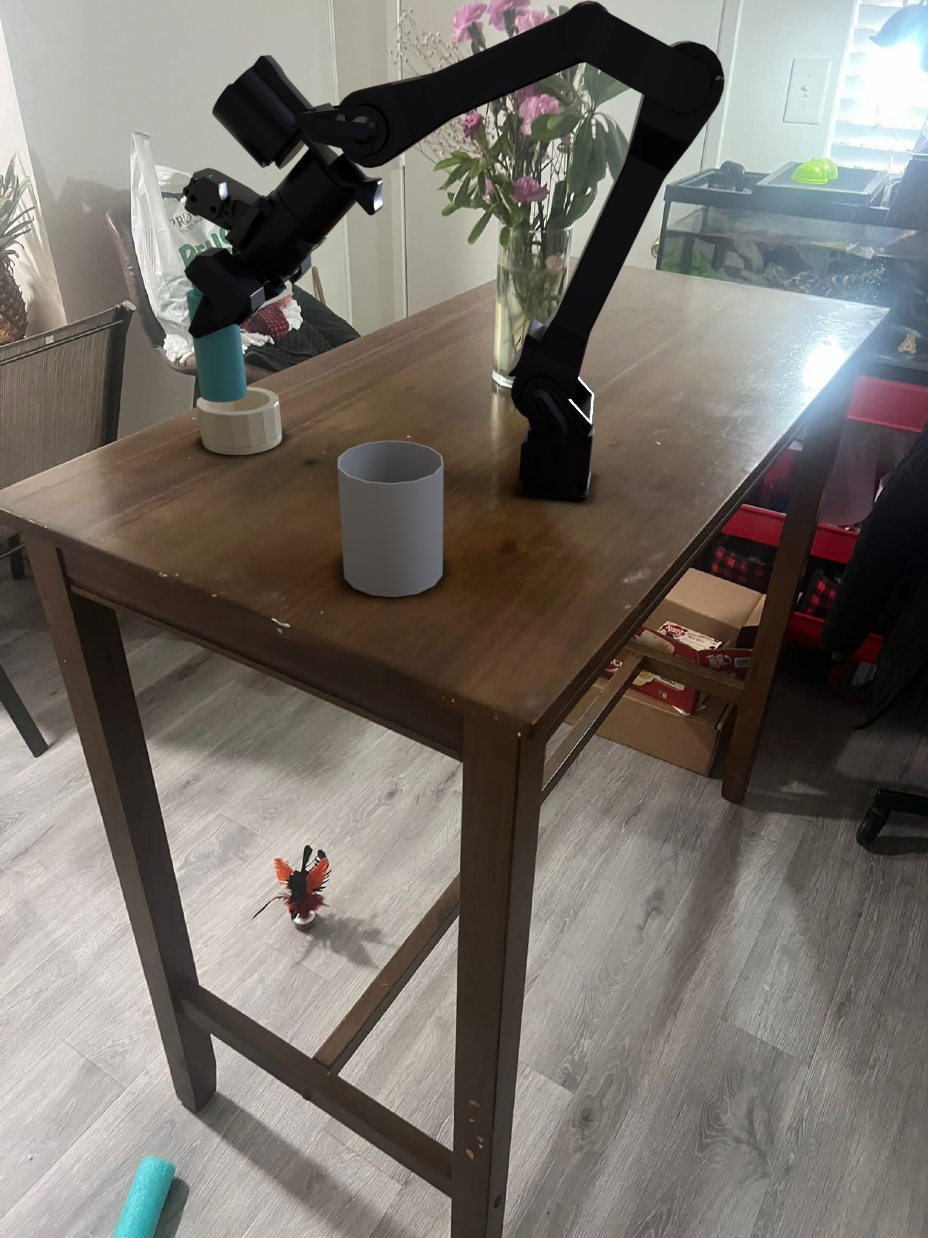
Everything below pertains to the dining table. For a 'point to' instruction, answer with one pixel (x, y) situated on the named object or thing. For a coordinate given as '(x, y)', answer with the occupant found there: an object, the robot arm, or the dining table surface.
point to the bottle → (218, 358)
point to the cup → (391, 517)
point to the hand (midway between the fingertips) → (202, 327)
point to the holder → (241, 423)
